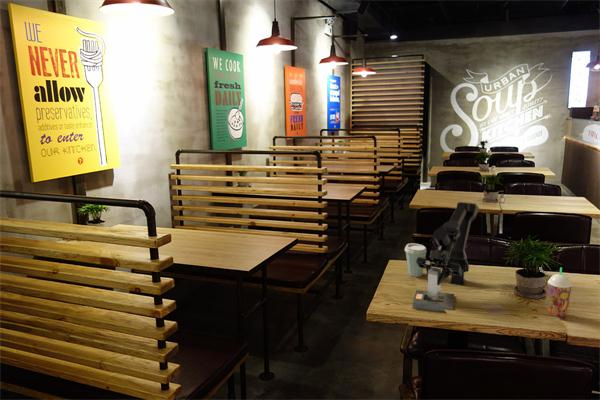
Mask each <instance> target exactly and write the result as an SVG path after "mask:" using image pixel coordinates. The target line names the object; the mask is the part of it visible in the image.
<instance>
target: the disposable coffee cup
mask: <svg viewBox="0 0 600 400" xmlns="http://www.w3.org/2000/svg"><path fill="white" fill-rule="evenodd" d="M404 252H405V257H406V263H407V271H408V275H409V276H411V277H414V278H418V277H421V276H422V275H423V272H424V268H420V267H419V266H418V264H417V263H416V260H417V258H418V257H423V258H426V256H427V247H426V246H424V245H423V244H419V243H415V242H414V243H412V242H411V243H407V244H406V245H405V247H404Z"/></svg>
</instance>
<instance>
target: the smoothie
mask: <svg viewBox="0 0 600 400" xmlns="http://www.w3.org/2000/svg"><path fill="white" fill-rule="evenodd" d="M562 272H563V267H560V268H559V273H554V274H553V275H552V276H550V278H549V279H548V280H547V304H546V305H547V308H546V309H547V310H546V311H547V312H548V313H549V314H550V315H554V316H556V317H557V318H559V319H563V318H565V317H566V316H567V315H568V310H569V304H570V303H569V302H570V296H571V292H572V287H573V284H572V282H571V280H570V278H569V277H568V276H566V275H565V274H563V273H562Z"/></svg>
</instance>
